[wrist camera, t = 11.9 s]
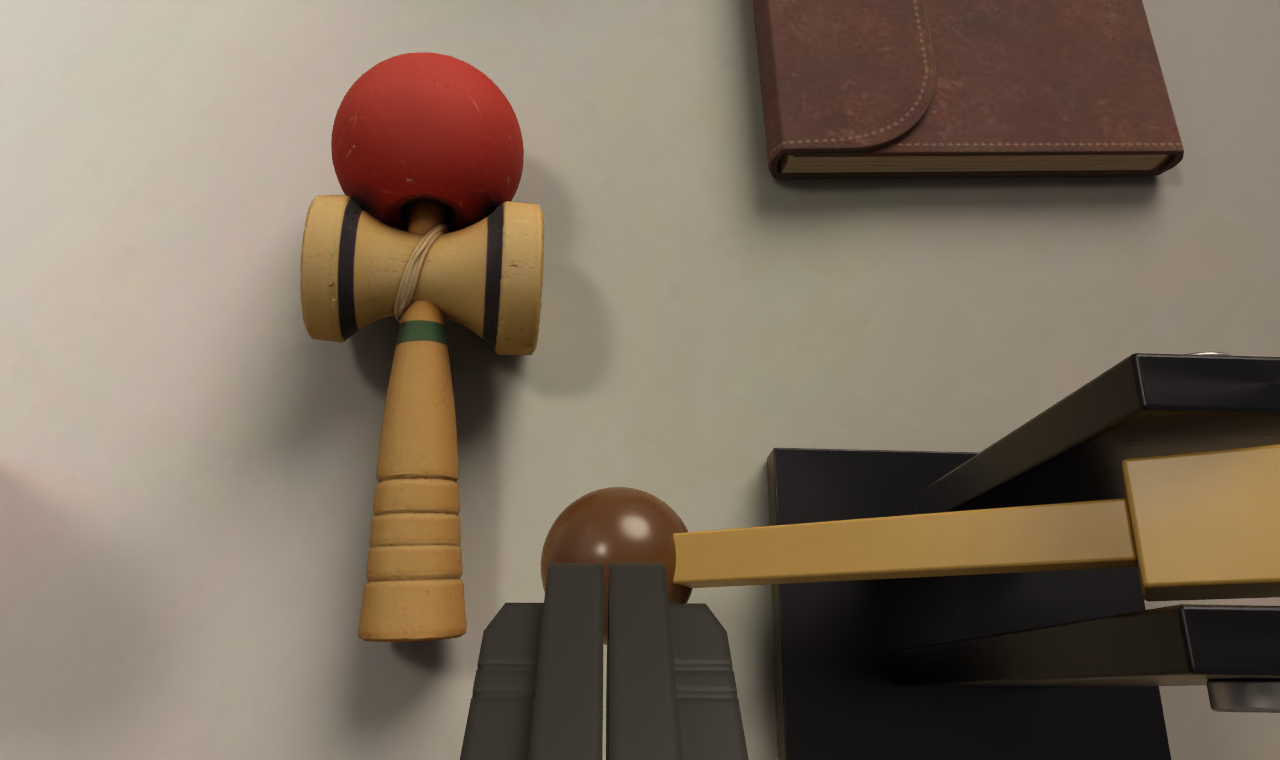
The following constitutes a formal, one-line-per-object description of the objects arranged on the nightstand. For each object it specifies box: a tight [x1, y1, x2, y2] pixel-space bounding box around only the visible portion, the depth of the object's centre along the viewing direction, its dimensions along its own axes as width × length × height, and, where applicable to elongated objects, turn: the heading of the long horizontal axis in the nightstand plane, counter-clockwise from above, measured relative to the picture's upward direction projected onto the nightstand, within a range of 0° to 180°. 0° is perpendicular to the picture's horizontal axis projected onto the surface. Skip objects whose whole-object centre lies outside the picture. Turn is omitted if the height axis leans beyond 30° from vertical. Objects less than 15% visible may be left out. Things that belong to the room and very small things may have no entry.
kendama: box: [301, 53, 544, 642], centre depth 27 cm, size 8×6×18 cm
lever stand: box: [767, 352, 1280, 760], centre depth 21 cm, size 11×9×15 cm
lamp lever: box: [541, 444, 1280, 645], centre depth 18 cm, size 15×4×4 cm, turn 89°
